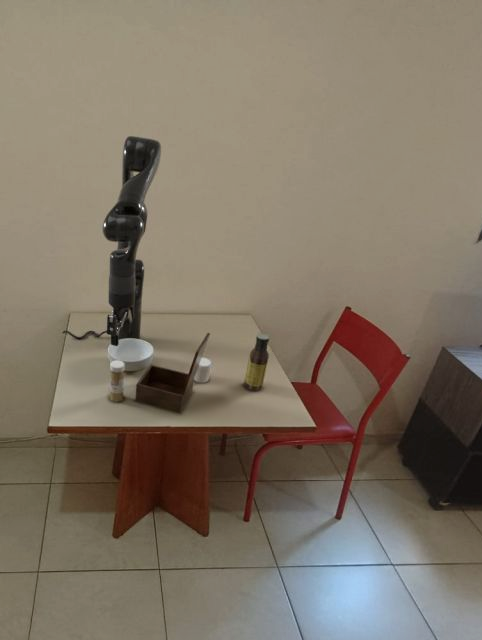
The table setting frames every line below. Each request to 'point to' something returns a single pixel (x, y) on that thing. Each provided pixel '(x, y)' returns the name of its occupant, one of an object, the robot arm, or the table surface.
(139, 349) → the cereal bowl
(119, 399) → the sprinkles bottle
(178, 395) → the chest
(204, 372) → the shot glass
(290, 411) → the table surface
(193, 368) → the chest lid
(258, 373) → the sauce bottle
